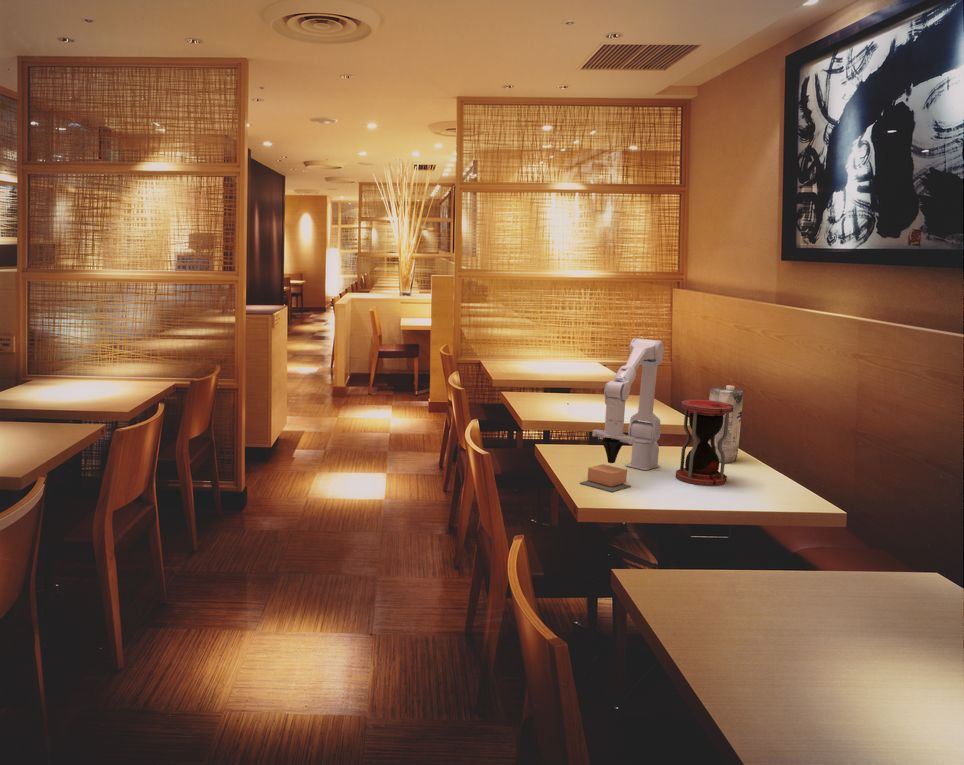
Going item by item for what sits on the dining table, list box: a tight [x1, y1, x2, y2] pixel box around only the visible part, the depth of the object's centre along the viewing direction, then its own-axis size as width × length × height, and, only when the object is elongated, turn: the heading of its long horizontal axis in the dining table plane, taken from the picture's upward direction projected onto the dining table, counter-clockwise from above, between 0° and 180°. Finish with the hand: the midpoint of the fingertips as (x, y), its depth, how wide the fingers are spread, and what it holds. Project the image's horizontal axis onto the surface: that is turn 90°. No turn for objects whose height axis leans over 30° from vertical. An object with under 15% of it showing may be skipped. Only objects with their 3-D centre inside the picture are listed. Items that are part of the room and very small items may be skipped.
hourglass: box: [675, 399, 733, 487], centre depth 272 cm, size 16×16×25 cm
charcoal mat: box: [579, 479, 632, 493], centre depth 261 cm, size 10×12×1 cm
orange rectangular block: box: [587, 463, 628, 487], centre depth 262 cm, size 4×9×8 cm
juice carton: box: [708, 385, 744, 464], centre depth 300 cm, size 9×10×27 cm
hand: (611, 462), depth 263 cm, fingers closed
